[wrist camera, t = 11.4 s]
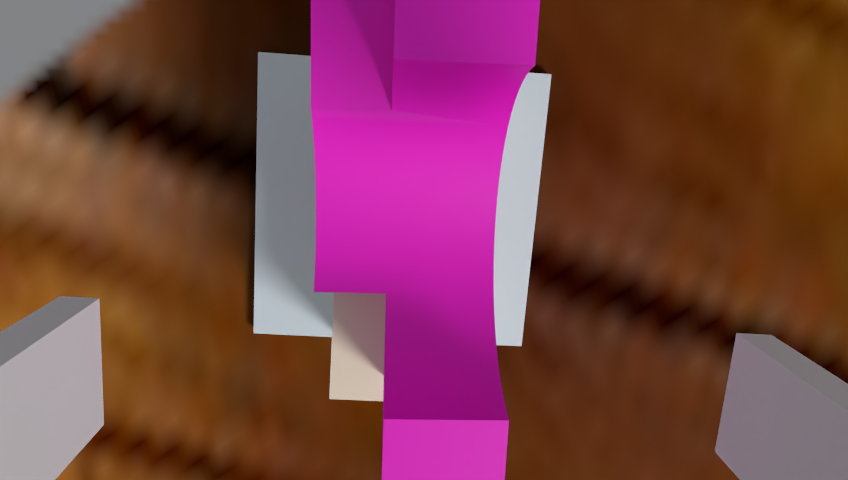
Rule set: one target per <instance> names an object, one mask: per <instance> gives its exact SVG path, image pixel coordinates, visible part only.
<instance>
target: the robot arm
mask: <svg viewBox="0 0 848 480" xmlns="http://www.w3.org/2000/svg"><path fill="white" fill-rule="evenodd" d="M103 425H104V413H103V385H102V358H101V330H100V303H99V298H82V297H63V296H60V297H58V298H56V299H55V300H53V301H51V302H50V303H48V304H46V305H45V306H43V307H41V308H40V309H38V310H36V311H35V312H33V313H31V314H30V315H28V316H26V317H25V318H23V319H21V320H20V321H18V322H16V323H15V324H13V325H11V326H10V327H8V328H6V329H5V330H3V331H1V332H0V480H55V479H56V478H57V477H58V476H59V475H60V474H61V472H62V471H63V470H64V469H65V468H66V467H67V466H68V465H69V463H70V462H71V461H72V460H73V459H74V458H75V457H76V455H77V454H78V453H79V452H80V451H81V450H82V449H83V448H84V446H85V445H86V444H87V443H88V442H89V441H90V440H91V439H92V437H93V436H94V435H95V434H96V433H97V432H98V431H99V430H100V428H101V427H102V426H103ZM715 452H716V453H717V455H718V456H719V457H720V458H721V459H722V460H723V461H724V462H725V464H726V465H727V466H728V467H729V468H730V469H731V470H732V471H733V473H734V474H735V475H736V476H737V477H738V478H739V479H740V480H848V384H847V383H845V382H844V381H842V380H841V379H839V378H838V377H836V376H834V375H833V374H831V373H830V372H828V371H827V370H825V369H824V368H822V367H820V366H819V365H817V364H816V363H814V362H813V361H811V360H810V359H808V358H806V357H805V356H803V355H802V354H800V353H799V352H797V351H796V350H794V349H792V348H791V347H789V346H788V345H786V344H785V343H783V342H782V341H780V340H778V339H777V338H775V337H774V336H772V335H760V334H742V333H736V339H735V344H734V350H733V355H732V360H731V366H730V371H729V377H728V382H727V388H726V393H725V399H724V404H723V410H722V415H721V420H720V426H719V431H718V437H717V442H716V448H715Z"/></svg>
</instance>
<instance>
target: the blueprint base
mask: <svg viewBox="0 0 848 480" xmlns="http://www.w3.org/2000/svg"><path fill="white" fill-rule="evenodd" d="M550 83H551V74H541V73H528V74H527V75H526V77H525V79H524V81H523V83H522V85H521V87H520V89H519V92H518V94H517V97H516V100H515V103H514V106H513V110H512V113H511V117H510V121H509V125H508V130H507V135H506V139H505V145H504V151H503V157H502V163H501V170H500V178H499V187H498V196H497V207H496V221H495V239H494V316H495V334H496V345H509V346H521V345H522V336H523V327H524V318H525V309H526V300H527V291H528V282H529V273H530V264H531V255H532V246H533V237H534V228H535V219H536V209H537V200H538V191H539V182H540V173H541V164H542V155H543V146H544V137H545V128H546V119H547V110H548V101H549V92H550ZM315 249H316V177H315V153H314V137H313V125H312V114H311V56H305V55H292V54H279V53H266V52H258V86H257V149H256V212H255V274H254V333H260V334H280V335H301V336H322V337H332V349H331V372H330V395H329V399H343V400H367V401H383V390H384V349H385V313H386V294H379V293H333V292H314V277H315Z"/></svg>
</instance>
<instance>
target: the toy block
mask: <svg viewBox="0 0 848 480" xmlns="http://www.w3.org/2000/svg"><path fill="white" fill-rule="evenodd" d="M539 7H540V0H311V114H312V125H313V137H314V153H315V177H316V249H315V277H314V292H333V293H379V294H386V313H385V349H384V390H383V447H382V480H505V467H506V453H507V440H508V426H509V419H508V415H507V411H506V407H505V402H504V398H503V392H502V387H501V380H500V373H499V366H498V357H497V346H496V334H495V316H494V239H495V221H496V207H497V196H498V187H499V178H500V170H501V163H502V157H503V151H504V145H505V139H506V135H507V130H508V125H509V121H510V117H511V113H512V110H513V106H514V103H515V100H516V97H517V94H518V92H519V89H520V87H521V85H522V83H523V81H524V79H525V77H526V75H527V74H528V73H529V71H530V70H531V69H532V68H533V67H534V66H535V61H536V47H537V34H538V20H539Z"/></svg>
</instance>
